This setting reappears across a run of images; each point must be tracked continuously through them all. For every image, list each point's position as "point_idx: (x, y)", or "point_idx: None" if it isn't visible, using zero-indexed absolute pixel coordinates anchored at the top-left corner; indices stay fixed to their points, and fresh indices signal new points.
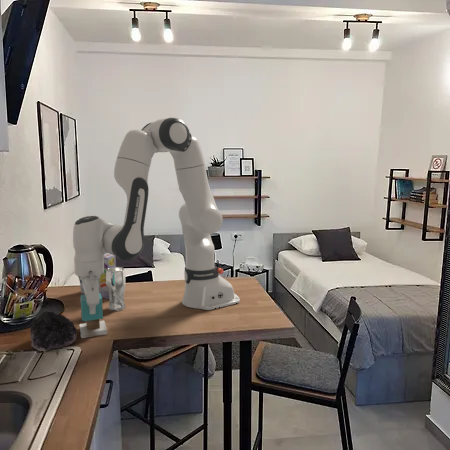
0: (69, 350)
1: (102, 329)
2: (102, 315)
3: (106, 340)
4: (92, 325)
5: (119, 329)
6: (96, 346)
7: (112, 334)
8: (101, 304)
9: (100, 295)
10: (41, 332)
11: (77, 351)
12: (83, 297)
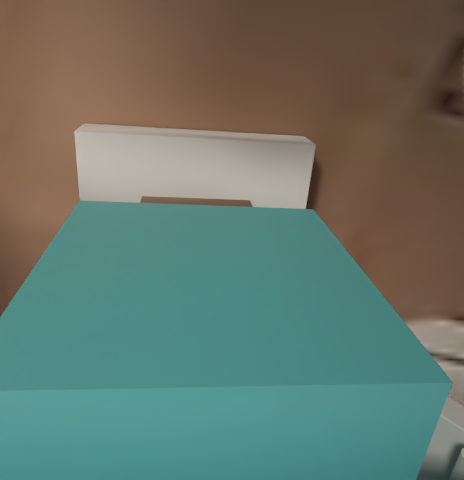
0: None
1: (288, 182)
2: (322, 227)
3: (410, 163)
4: None
5: (255, 7)
6: (456, 239)
7: (330, 97)
8: (386, 317)
9: (197, 397)
10: None
11: (446, 338)
12: None
